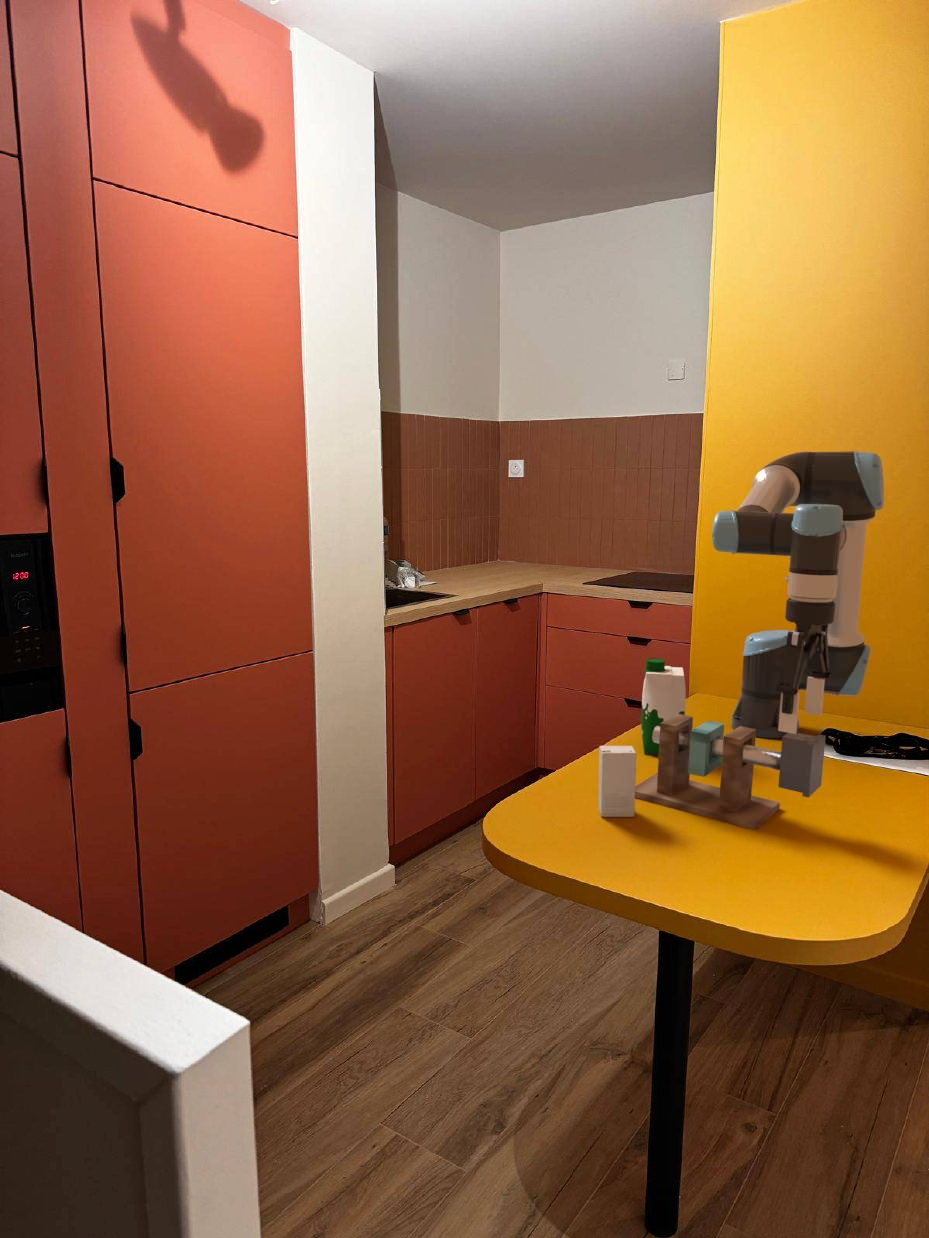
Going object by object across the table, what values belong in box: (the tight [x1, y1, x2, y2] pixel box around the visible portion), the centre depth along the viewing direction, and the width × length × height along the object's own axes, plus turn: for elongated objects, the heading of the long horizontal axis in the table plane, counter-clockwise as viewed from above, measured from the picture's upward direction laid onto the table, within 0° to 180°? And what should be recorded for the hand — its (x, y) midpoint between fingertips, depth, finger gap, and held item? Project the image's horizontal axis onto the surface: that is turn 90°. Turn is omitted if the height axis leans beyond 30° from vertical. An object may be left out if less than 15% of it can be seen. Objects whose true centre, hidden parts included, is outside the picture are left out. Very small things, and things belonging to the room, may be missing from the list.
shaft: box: [652, 726, 826, 798], centre depth 155 cm, size 30×7×9 cm, turn 52°
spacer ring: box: [688, 720, 725, 778], centre depth 158 cm, size 3×8×8 cm, turn 142°
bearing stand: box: [635, 714, 781, 831], centre depth 159 cm, size 24×12×15 cm, turn 52°
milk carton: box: [640, 657, 687, 756], centre depth 187 cm, size 9×9×20 cm
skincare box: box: [597, 745, 637, 818], centre depth 154 cm, size 6×4×12 cm
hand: (800, 723), depth 147 cm, fingers open, 13 cm apart
